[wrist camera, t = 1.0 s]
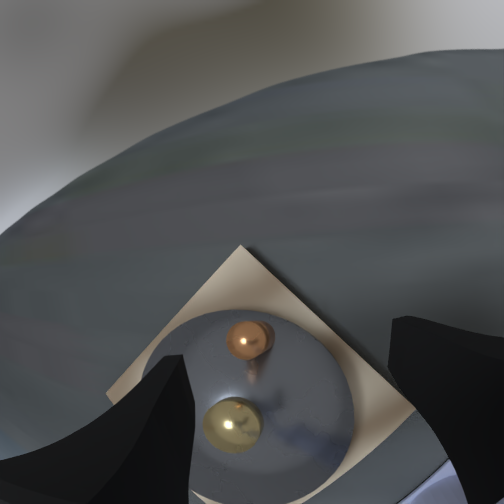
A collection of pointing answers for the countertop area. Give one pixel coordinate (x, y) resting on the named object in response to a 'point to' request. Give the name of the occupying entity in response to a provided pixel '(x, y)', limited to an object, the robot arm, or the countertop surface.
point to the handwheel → (260, 406)
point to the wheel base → (291, 308)
